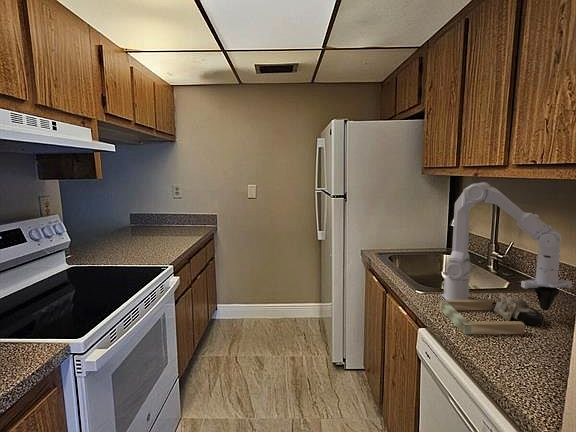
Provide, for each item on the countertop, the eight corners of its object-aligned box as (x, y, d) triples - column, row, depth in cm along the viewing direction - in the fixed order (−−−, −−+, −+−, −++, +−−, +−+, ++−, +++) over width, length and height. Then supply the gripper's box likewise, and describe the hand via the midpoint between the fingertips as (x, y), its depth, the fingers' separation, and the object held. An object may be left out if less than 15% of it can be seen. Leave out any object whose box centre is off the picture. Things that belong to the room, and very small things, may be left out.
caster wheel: (544, 331, 114) (518, 331, 111) (516, 311, 124) (492, 310, 122) (552, 313, 112) (526, 312, 109) (523, 294, 122) (499, 292, 120)
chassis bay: (438, 308, 128) (438, 300, 127) (489, 307, 127) (489, 299, 127) (464, 334, 108) (464, 324, 108) (524, 333, 107) (524, 324, 107)
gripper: (532, 272, 111) (529, 314, 113) (580, 271, 110) (577, 313, 112) (518, 265, 118) (515, 305, 120) (564, 265, 117) (560, 305, 119)
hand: (544, 309), depth 116 cm, fingers closed
